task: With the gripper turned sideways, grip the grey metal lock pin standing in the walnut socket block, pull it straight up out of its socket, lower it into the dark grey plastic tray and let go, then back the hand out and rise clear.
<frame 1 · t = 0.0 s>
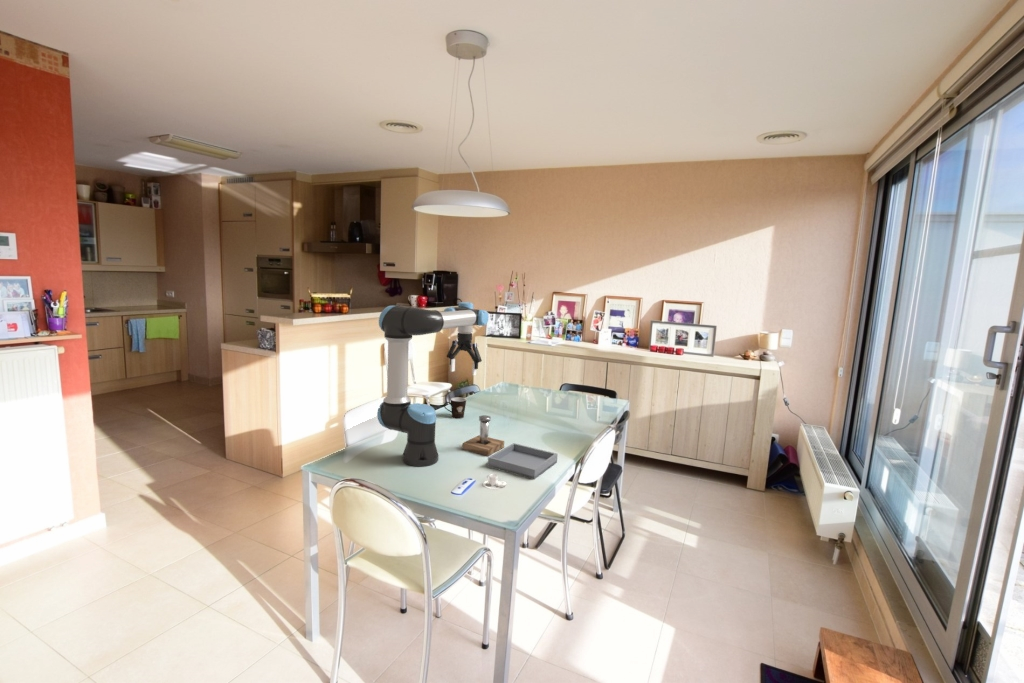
hand: (463, 373, 259), 28 cm above the table, tool pointing down, fingers open, 13 cm apart
coffee mug: (455, 417, 278), on the table
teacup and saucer: (494, 489, 191), on the table
socket block: (483, 448, 232), on the table
lock pin: (484, 432, 231), in the socket block
tray: (523, 464, 215), on the table
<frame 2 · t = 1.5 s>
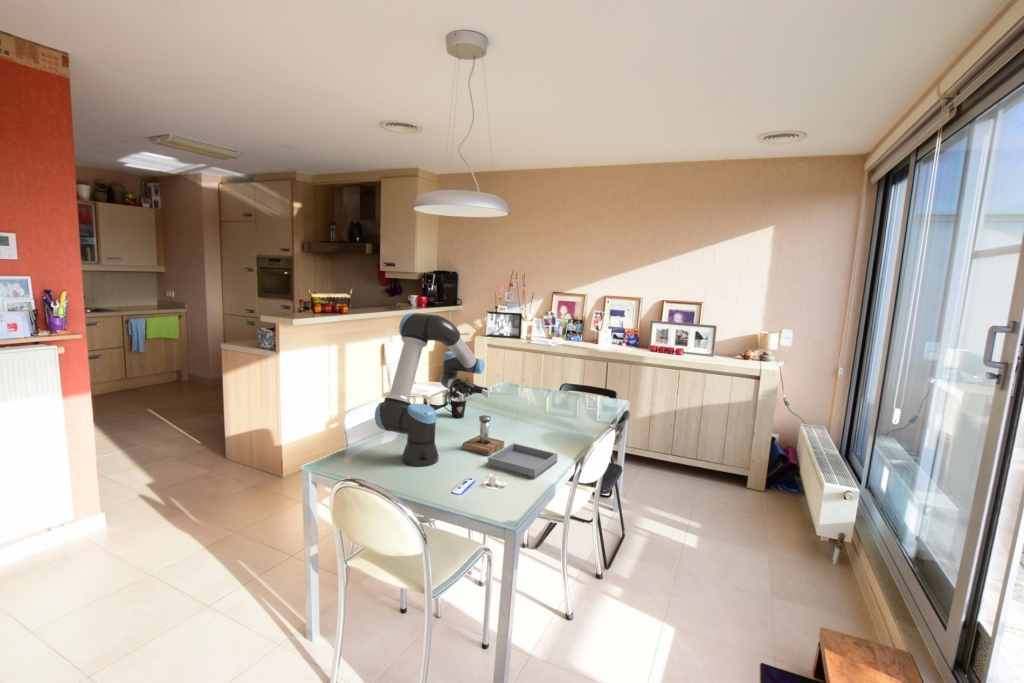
hand: (476, 396, 237), 22 cm above the table, tool horizontal, fingers open, 13 cm apart
nothing on the table moved.
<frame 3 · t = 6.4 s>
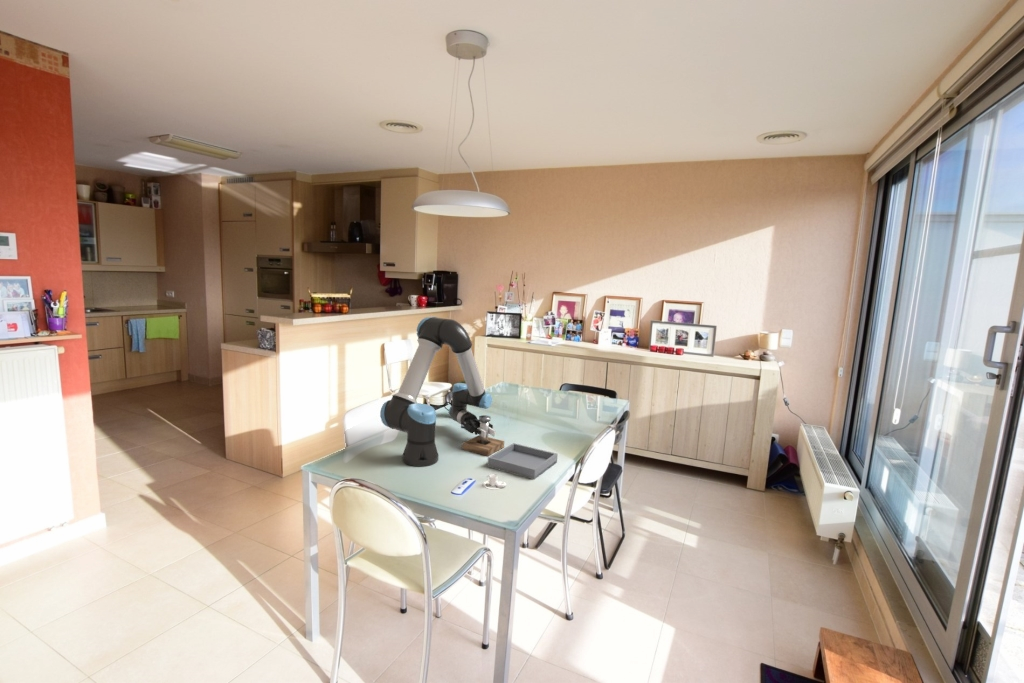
hand: (489, 434, 226), 9 cm above the table, tool horizontal, fingers closed on lock pin, 4 cm apart
lock pin: (484, 432, 231), in the socket block, touching gripper
everything else where it was.
when the fingers open (11 cm above the table, at t = 12.8 s): lock pin drops 1 cm, resting on tray.
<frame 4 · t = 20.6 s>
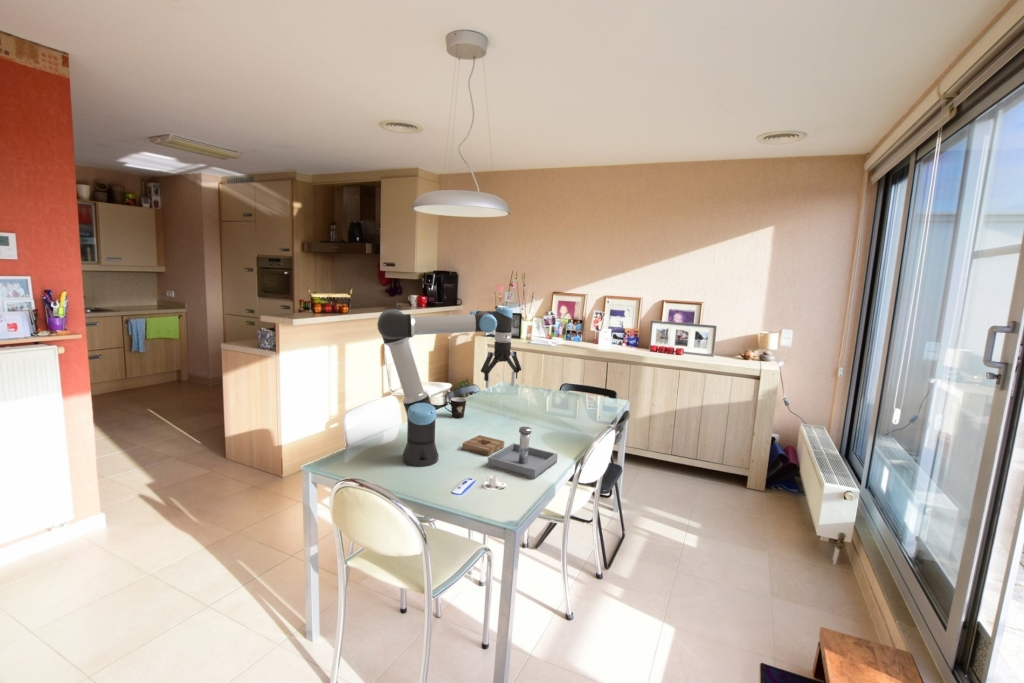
hand: (500, 386, 231), 29 cm above the table, tool pointing down, fingers open, 13 cm apart
lock pin: (524, 445, 214), in the tray, point 8 cm above the table
at the end: lock pin inside the target area on the tray (0.0 cm from its centre), point 8.5 cm above the tray's base; the gripper is holding nothing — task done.
